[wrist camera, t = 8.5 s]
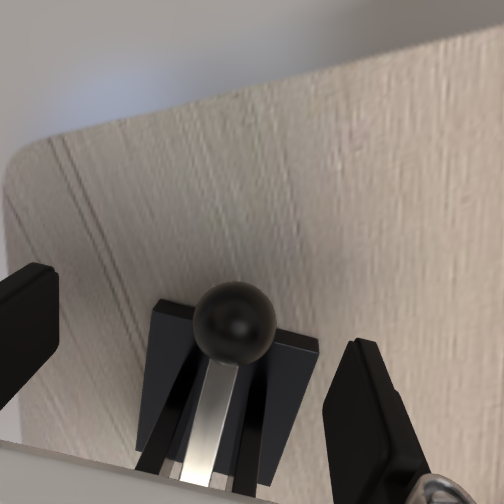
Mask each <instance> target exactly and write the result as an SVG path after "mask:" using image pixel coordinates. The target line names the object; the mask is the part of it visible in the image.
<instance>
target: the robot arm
mask: <svg viewBox="0 0 504 504" xmlns="http://www.w3.org/2000/svg"><path fill="white" fill-rule="evenodd" d="M58 345H59V275H58V273H57V272H55V270H54V268H53V267H52V266H48V265H43V264H39V263H34V262H32V263H30V264H28V265H26V266H25V267H23V268H21V269H20V270H18V271H17V272H15V273H13V274H12V275H10V276H8V277H7V278H5V279H4V280H2V281H1V282H0V410H1V409H2V408H3V407H4V406H5V405H6V404H7V403H8V402H9V401H10V400H11V399H12V398H13V397H14V395H15V394H16V393H17V392H18V391H19V390H20V389H21V388H22V387H23V386H24V385H25V384H26V383H27V381H28V380H29V379H30V378H31V377H32V376H33V375H34V374H35V373H36V372H37V371H38V370H39V369H40V367H41V366H42V365H43V364H44V363H45V362H46V361H47V360H48V359H49V358H50V357H51V356H52V355H53V353H54V352H55V351H56V349H57V347H58ZM322 415H323V423H324V431H325V439H326V447H327V455H328V462H329V470H330V478H331V486H332V494H333V502H334V504H476V502H475V501H474V500H473V499H472V497H471V496H470V495H469V494H468V493H467V492H466V491H465V490H464V489H463V488H462V487H461V486H459V485H458V484H456V483H455V482H453V481H452V480H450V479H449V478H446V477H444V476H442V475H439V474H433V473H431V471H430V468H429V466H428V463H427V461H426V459H425V456H424V454H423V451H422V449H421V446H420V444H419V441H418V439H417V436H416V434H415V431H414V429H413V426H412V424H411V421H410V419H409V416H408V414H407V411H406V409H405V406H404V404H403V401H402V399H401V396H400V395H399V393H398V392H397V391H396V390H395V389H394V387H393V384H392V382H391V379H390V377H389V374H388V371H387V369H386V366H385V364H384V361H383V359H382V356H381V354H380V351H379V348H378V346H377V344H376V342H374V341H370V340H365V339H361V338H356V339H355V340H354V341H349V342H348V344H347V346H346V349H345V351H344V354H343V356H342V359H341V361H340V364H339V366H338V368H337V371H336V373H335V376H334V378H333V381H332V383H331V386H330V388H329V391H328V393H327V396H326V398H325V400H324V403H323V409H322ZM0 504H278V503H274V502H270V501H266V500H261V499H257V498H253V497H249V496H244V495H240V494H236V493H232V492H227V491H223V490H219V489H215V488H210V487H206V486H202V485H198V484H193V483H189V482H185V481H181V480H176V479H172V478H167V477H163V476H159V475H154V474H150V473H146V472H141V471H137V470H133V469H128V468H124V467H120V466H115V465H111V464H106V463H102V462H98V461H93V460H89V459H84V458H80V457H76V456H71V455H67V454H62V453H58V452H53V451H49V450H44V449H40V448H35V447H31V446H26V445H22V444H17V443H13V442H9V441H4V440H0Z"/></svg>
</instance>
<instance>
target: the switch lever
mask: <svg viewBox="0 0 504 504" xmlns="http://www.w3.org/2000/svg"><path fill="white" fill-rule="evenodd" d="M192 325H193V333H194V337H195V340H196V342H197V345H198V346H199V348H200V349H201V351H202V352H203V353H204V354H205V355H206V356H207V357H208V358H209V359H210V360H209V364H208V368H207V372H206V376H205V379H204V383H203V387H202V391H201V395H200V399H199V403H198V406H197V410H196V414H195V418H194V422H193V426H192V429H191V433H190V437H189V441H188V445H187V449H186V453H185V456H184V460H183V464H182V468H181V472H180V476H179V479H178V480H181V481H185V482H189V483H193V484H198V485H202V486H206V487H209V485H210V481H211V477H212V473H213V469H214V465H215V461H216V457H217V453H218V448H219V444H220V440H221V436H222V432H223V428H224V424H225V420H226V416H227V412H228V408H229V404H230V400H231V396H232V392H233V388H234V384H235V380H236V376H237V372H238V368H239V367H240V366H245V365H248V364H251V363H253V362H254V361H256V360H258V359H259V358H261V357H262V356H263V355H264V354H265V353H266V351H267V350H268V349H269V347H270V346H271V344H272V342H273V340H274V336H275V333H276V315H275V311H274V308H273V306H272V304H271V302H270V300H269V299H268V297H267V296H266V295H265V294H264V293H263V292H262V291H261V290H260V289H258V288H256V287H255V286H253V285H251V284H248V283H245V282H238V281H232V282H225V283H222V284H219V285H217V286H215V287H213V288H212V289H210V290H209V291H208V292H207V293H205V294H204V296H203V297H202V298H201V299H200V301H199V302H198V304H197V306H196V309H195V312H194V315H193V324H192Z"/></svg>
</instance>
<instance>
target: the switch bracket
mask: <svg viewBox="0 0 504 504" xmlns="http://www.w3.org/2000/svg"><path fill="white" fill-rule="evenodd" d="M195 309H196V308H193V307H189V306H185V305H181V304H178V303H174V302H170V301H166V300H162V299H160V300H159V301H158V303H157V304H156V305H155V307H154V308H153V310H152V314H151V323H150V331H149V340H148V348H147V356H146V365H145V373H144V382H143V390H142V398H141V407H140V415H139V424H138V432H137V440H136V449H135V450H136V451H139V452H142V454H141V456H140V458H139V461H138V463H137V465H136V467H135V469H134V470H137V471H141V472H146V473H150V474H154V475H159V476H163V477H167V478H169V476H170V473H171V470H172V467H173V464H174V462H175V461H176V462H180V463H183V460H184V456H185V453H186V449H187V445H188V441H189V437H190V433H191V429H192V426H193V422H194V418H195V414H196V410H197V406H198V403H199V399H200V395H201V391H202V387H203V383H204V379H205V376H206V372H207V368H208V364H209V360H210V359H209V358H208V357H207V356H206V355H205V354H204V353H203V352H202V351H201V349H200V348H199V346H198V345H197V342H196V340H195V337H194V333H193V325H192V324H193V315H194V312H195ZM318 356H319V342H318V339H314V338H310V337H306V336H302V335H298V334H294V333H291V332H287V331H283V330H279V329H276V333H275V336H274V340H273V342H272V344H271V346H270V347H269V349H268V350H267V351H266V353H265V354H264V355H263V356H262V357H261V358H259V359H258V360H256V361H254V362H253V363H251V364H248V365H245V366H240V367H239V368H238V372H237V376H236V380H235V384H234V388H233V392H232V396H231V400H230V404H229V408H228V412H227V416H226V420H225V424H224V428H223V432H222V436H221V440H220V444H219V448H218V453H217V457H216V461H215V465H214V469H213V472H217V473H221V474H224V475H228V478H227V483H226V488H225V491H227V492H232V493H236V494H240V495H244V496H249V497H253V498H256V489H257V483H258V484H261V485H265V486H269V487H270V486H271V483H272V480H273V477H274V475H275V472H276V469H277V467H278V464H279V461H280V459H281V456H282V453H283V451H284V448H285V445H286V442H287V440H288V437H289V434H290V432H291V429H292V426H293V424H294V421H295V418H296V415H297V413H298V410H299V407H300V405H301V402H302V399H303V397H304V394H305V391H306V389H307V386H308V383H309V380H310V378H311V375H312V372H313V370H314V367H315V364H316V362H317V359H318Z"/></svg>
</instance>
